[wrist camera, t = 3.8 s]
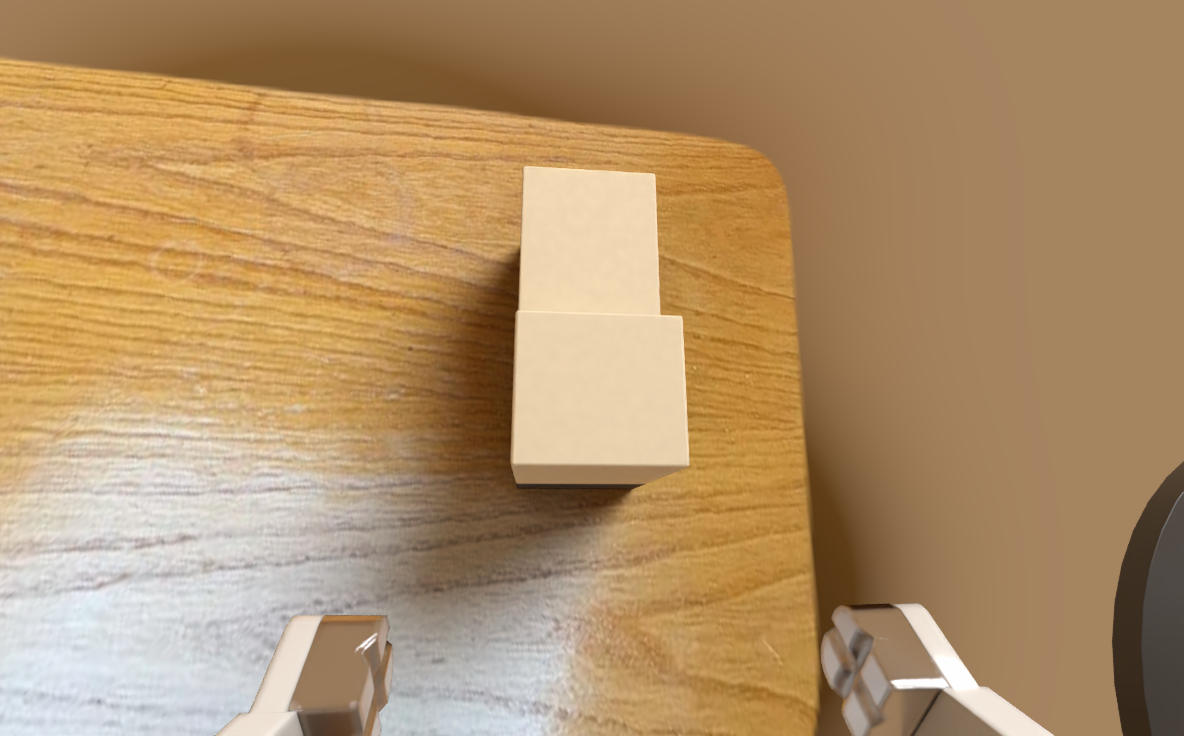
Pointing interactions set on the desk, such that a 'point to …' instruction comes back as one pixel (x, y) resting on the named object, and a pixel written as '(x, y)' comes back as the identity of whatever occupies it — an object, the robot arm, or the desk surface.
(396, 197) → the desk surface
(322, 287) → the desk surface
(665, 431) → the stepped cream block
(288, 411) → the desk surface
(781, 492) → the desk surface
